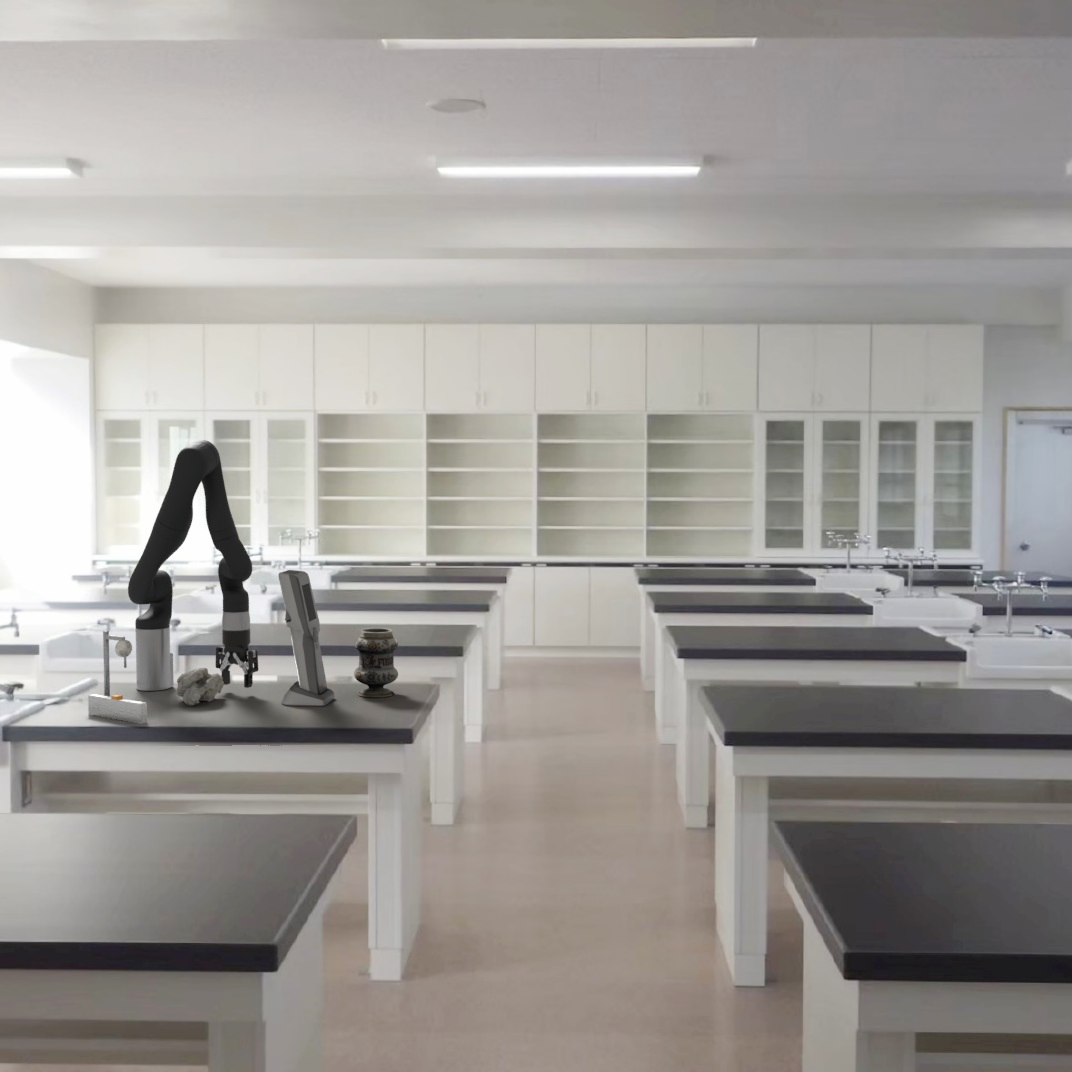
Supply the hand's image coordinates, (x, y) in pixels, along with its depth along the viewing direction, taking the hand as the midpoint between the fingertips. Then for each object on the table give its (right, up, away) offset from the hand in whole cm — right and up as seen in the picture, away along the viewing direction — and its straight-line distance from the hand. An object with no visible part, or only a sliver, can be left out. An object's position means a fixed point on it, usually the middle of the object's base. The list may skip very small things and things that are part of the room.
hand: (237, 685), depth 350 cm
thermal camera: (+22, -3, -12) cm, 25 cm away
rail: (-22, -4, -33) cm, 40 cm away
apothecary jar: (+39, -3, -1) cm, 39 cm away
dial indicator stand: (-29, -3, -17) cm, 33 cm away
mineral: (-7, -3, -12) cm, 14 cm away
